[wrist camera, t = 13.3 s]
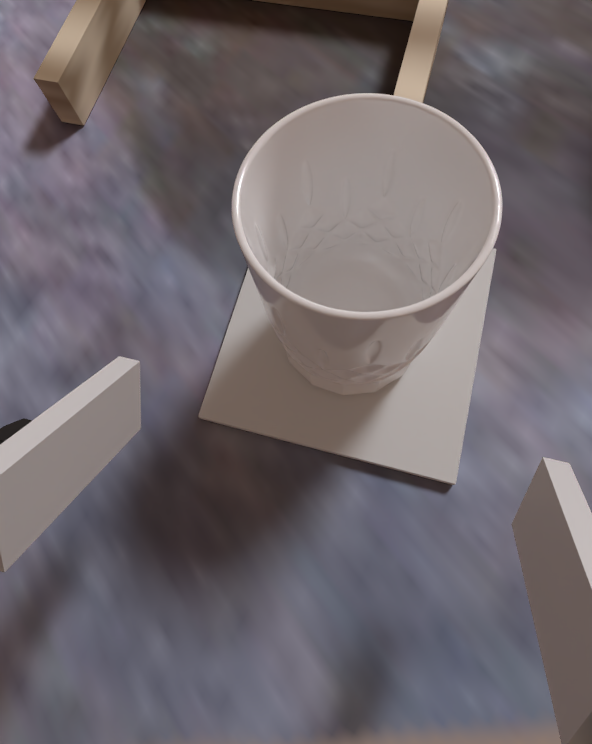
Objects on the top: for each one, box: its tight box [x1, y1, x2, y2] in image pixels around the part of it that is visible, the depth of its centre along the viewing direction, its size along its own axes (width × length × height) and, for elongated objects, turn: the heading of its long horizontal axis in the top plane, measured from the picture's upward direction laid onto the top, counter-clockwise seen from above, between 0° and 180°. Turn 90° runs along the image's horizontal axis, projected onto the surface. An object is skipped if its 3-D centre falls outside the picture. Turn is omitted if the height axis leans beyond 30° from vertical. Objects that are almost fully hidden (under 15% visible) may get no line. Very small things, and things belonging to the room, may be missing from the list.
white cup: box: [232, 93, 502, 395], centre depth 19 cm, size 8×8×10 cm
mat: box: [198, 249, 496, 485], centre depth 24 cm, size 12×12×1 cm
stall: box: [34, 0, 449, 126], centre depth 29 cm, size 14×21×3 cm, turn 75°
